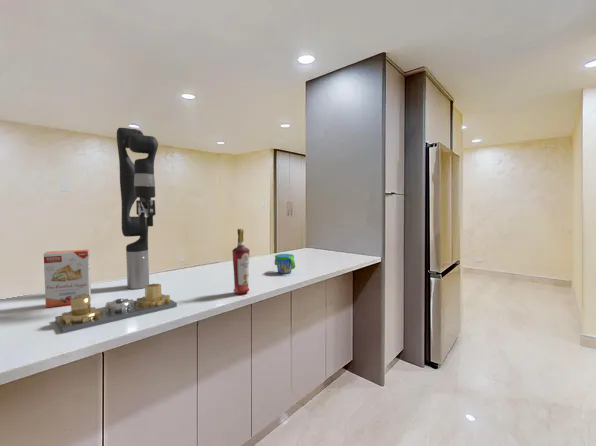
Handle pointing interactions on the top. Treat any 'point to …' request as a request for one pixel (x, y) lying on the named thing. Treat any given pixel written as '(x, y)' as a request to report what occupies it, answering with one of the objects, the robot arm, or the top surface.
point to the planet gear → (153, 296)
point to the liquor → (241, 265)
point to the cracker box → (66, 276)
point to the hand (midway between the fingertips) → (146, 225)
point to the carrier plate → (102, 313)
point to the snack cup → (284, 263)
